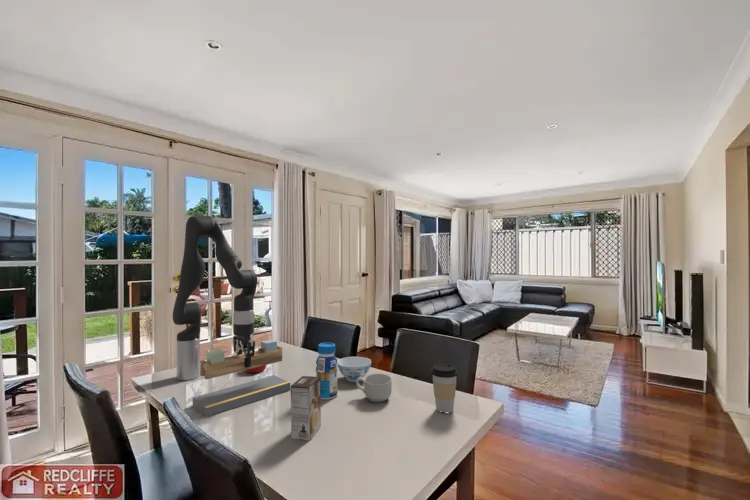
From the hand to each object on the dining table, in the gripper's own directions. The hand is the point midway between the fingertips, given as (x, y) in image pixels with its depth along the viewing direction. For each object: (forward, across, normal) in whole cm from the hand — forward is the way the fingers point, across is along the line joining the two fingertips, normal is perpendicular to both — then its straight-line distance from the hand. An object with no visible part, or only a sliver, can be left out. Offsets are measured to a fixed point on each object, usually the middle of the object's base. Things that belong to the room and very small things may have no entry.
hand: (243, 365), depth 138 cm
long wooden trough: (+1, 0, 0) cm, 1 cm away
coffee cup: (+13, +62, +44) cm, 77 cm away
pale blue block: (-4, 0, +11) cm, 11 cm away
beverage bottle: (+13, +22, +23) cm, 34 cm away
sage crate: (-4, 0, -11) cm, 11 cm away
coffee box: (+13, +40, +1) cm, 42 cm away
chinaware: (+13, +16, +43) cm, 48 cm away
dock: (+12, 0, 0) cm, 12 cm away
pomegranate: (+13, -26, +18) cm, 34 cm away
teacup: (+13, +37, +34) cm, 52 cm away
